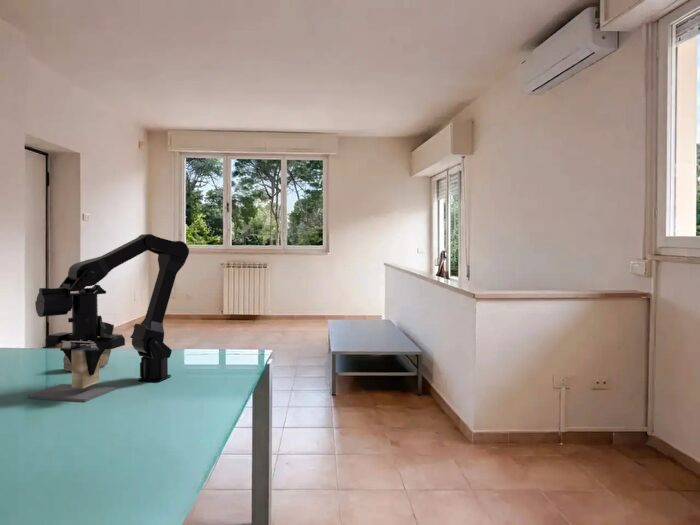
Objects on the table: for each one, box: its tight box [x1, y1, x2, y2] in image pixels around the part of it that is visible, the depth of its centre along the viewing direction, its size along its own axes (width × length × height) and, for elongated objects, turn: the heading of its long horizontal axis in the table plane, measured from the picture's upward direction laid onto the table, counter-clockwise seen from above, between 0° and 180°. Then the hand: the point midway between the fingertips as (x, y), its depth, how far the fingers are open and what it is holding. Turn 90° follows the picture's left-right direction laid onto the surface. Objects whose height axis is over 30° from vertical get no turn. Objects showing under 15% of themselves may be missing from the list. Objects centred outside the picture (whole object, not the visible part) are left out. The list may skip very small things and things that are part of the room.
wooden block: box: [71, 345, 100, 388], centre depth 129 cm, size 3×6×9 cm, turn 168°
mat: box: [27, 383, 116, 403], centre depth 129 cm, size 16×11×1 cm
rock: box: [62, 344, 112, 372], centre depth 154 cm, size 12×7×10 cm, turn 113°
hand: (85, 374), depth 129 cm, fingers closed on wooden block, 3 cm apart
